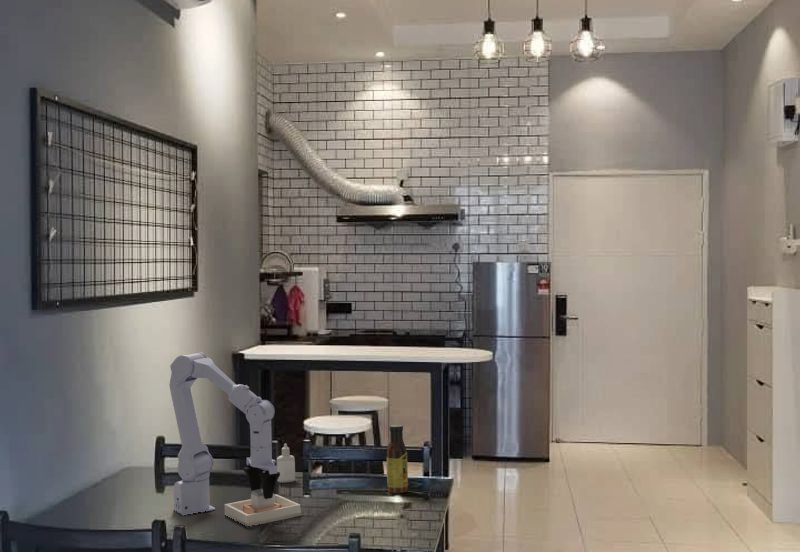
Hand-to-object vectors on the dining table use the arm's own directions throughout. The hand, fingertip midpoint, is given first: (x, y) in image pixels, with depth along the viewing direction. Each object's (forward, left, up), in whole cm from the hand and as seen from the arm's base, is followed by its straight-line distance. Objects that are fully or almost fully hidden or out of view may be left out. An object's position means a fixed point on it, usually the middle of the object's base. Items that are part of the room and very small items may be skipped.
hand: (261, 495), depth 230 cm
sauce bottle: (+43, -4, -6) cm, 44 cm away
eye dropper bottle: (+23, +29, -6) cm, 37 cm away
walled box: (0, 0, -6) cm, 6 cm away
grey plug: (0, 0, -5) cm, 5 cm away
